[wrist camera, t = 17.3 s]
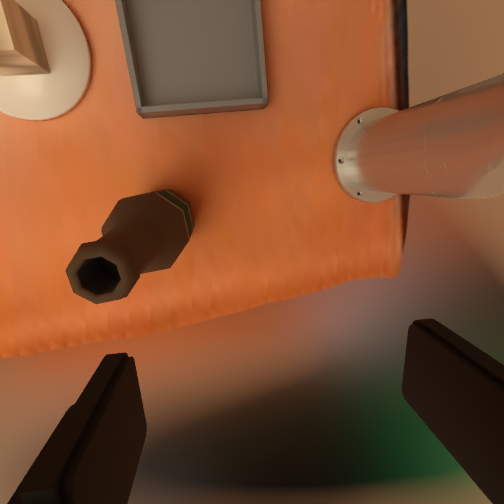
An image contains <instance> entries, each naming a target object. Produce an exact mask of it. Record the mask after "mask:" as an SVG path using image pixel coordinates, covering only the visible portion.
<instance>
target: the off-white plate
mask: <svg viewBox="0 0 504 504" xmlns="http://www.w3.org/2000/svg"><path fill="white" fill-rule="evenodd" d="M15 1H16V2H17V3H18V4H19V5H20V6H21V7H22V8H23V9H25V10H26V11H27V12H28V13H29V14H30V15H31V16H32V17H33V18H34V19H36V20H37V22H38V26H39V30H40V34H41V38H42V42H43V46H44V49H45V53H46V57H47V61H48V65H49V69H50V73H51V74H36V75H19V76H0V112H2V113H5V114H7V115H10V116H13V117H16V118H20V119H24V120H30V121H47V120H53V119H56V118H59V117H61V116H63V115H66V114H67V113H69V112H70V111H72V110H73V109H74V108H75V107H76V106H77V105H78V104H79V103H80V102H81V100H82V99H83V97H84V96H85V94H86V92H87V90H88V87H89V84H90V80H91V74H92V58H91V52H90V47H89V44H88V40H87V38H86V35H85V33H84V31H83V29H82V27H81V25H80V23H79V22H78V20H77V19H76V17H75V16H74V14H73V13H72V12H71V11H70V9H69V8H68V7H67V6H66V5H65V3H64V2H63V1H62V0H15Z"/></svg>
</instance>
